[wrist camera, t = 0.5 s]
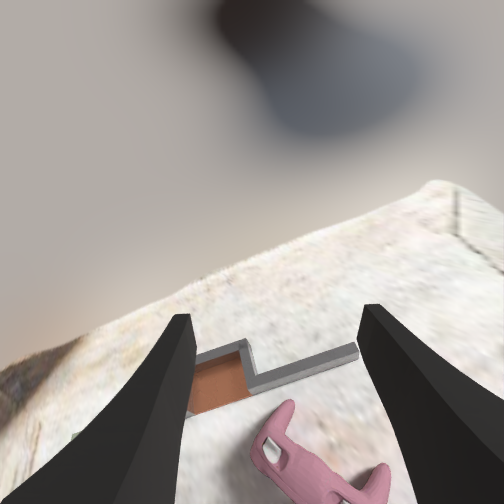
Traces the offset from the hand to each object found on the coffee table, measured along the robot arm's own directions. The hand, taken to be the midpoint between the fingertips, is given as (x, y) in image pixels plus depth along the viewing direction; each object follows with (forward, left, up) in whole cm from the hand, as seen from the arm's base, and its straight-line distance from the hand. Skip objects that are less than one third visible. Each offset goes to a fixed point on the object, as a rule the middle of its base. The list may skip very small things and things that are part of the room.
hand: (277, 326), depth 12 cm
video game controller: (-3, +1, -19) cm, 19 cm away
